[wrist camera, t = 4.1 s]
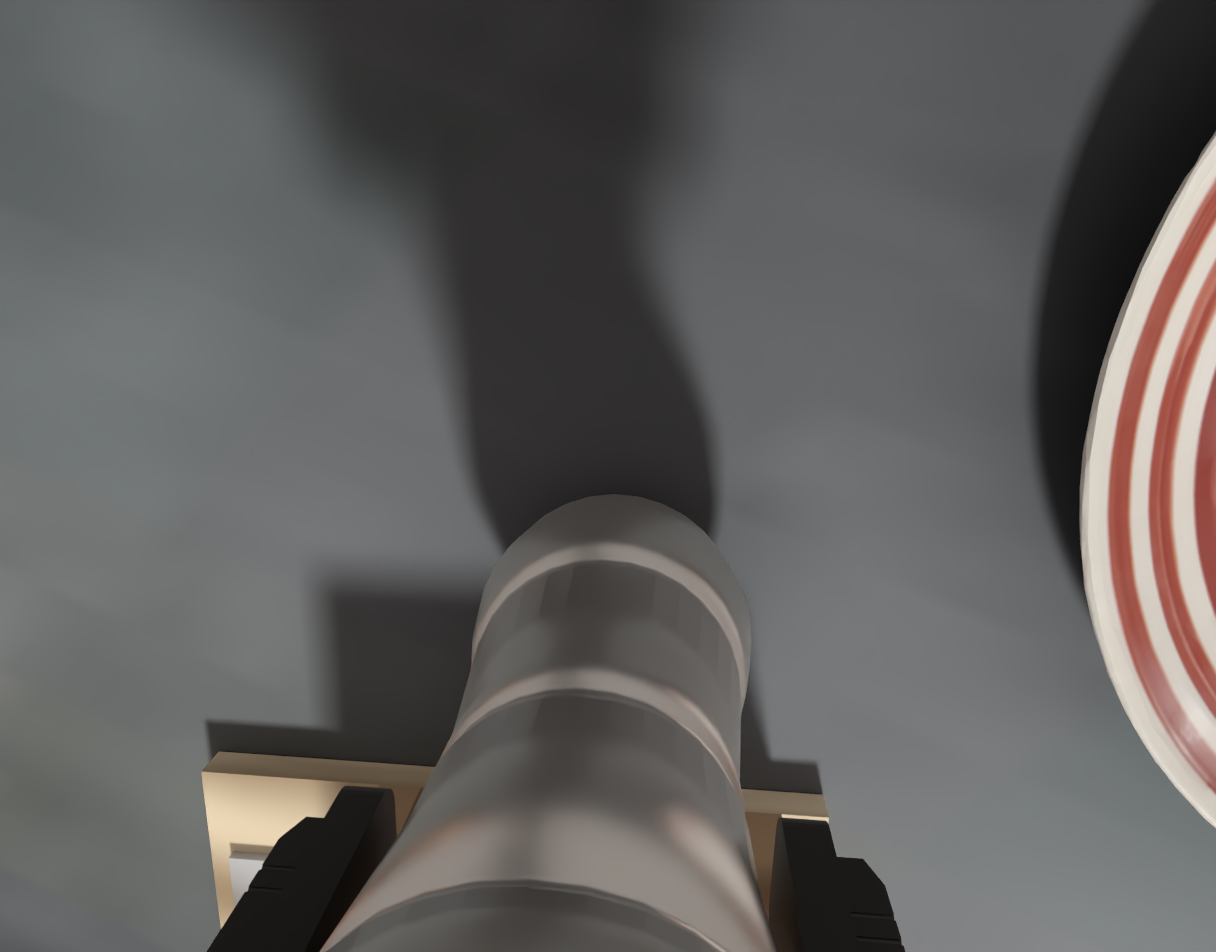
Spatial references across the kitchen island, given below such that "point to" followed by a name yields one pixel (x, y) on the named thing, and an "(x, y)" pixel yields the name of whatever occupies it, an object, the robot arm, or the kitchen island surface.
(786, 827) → the robot arm
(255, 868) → the socket board
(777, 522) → the kitchen island surface
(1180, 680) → the dinner plate
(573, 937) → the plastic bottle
